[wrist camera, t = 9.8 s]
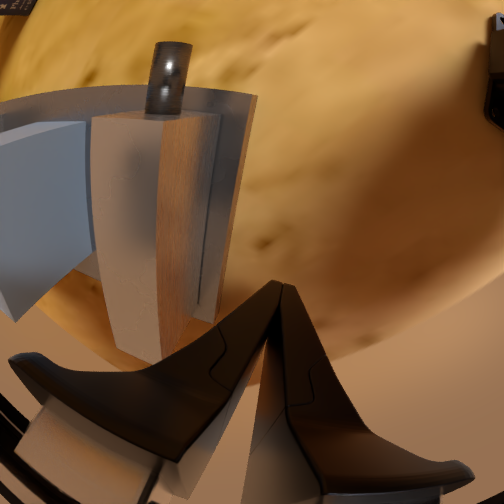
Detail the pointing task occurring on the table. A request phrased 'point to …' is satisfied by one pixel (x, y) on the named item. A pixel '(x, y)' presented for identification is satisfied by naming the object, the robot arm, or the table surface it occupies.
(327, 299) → the table surface
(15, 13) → the small box
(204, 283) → the vise
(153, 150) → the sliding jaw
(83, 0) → the table surface
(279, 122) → the table surface
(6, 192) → the block
